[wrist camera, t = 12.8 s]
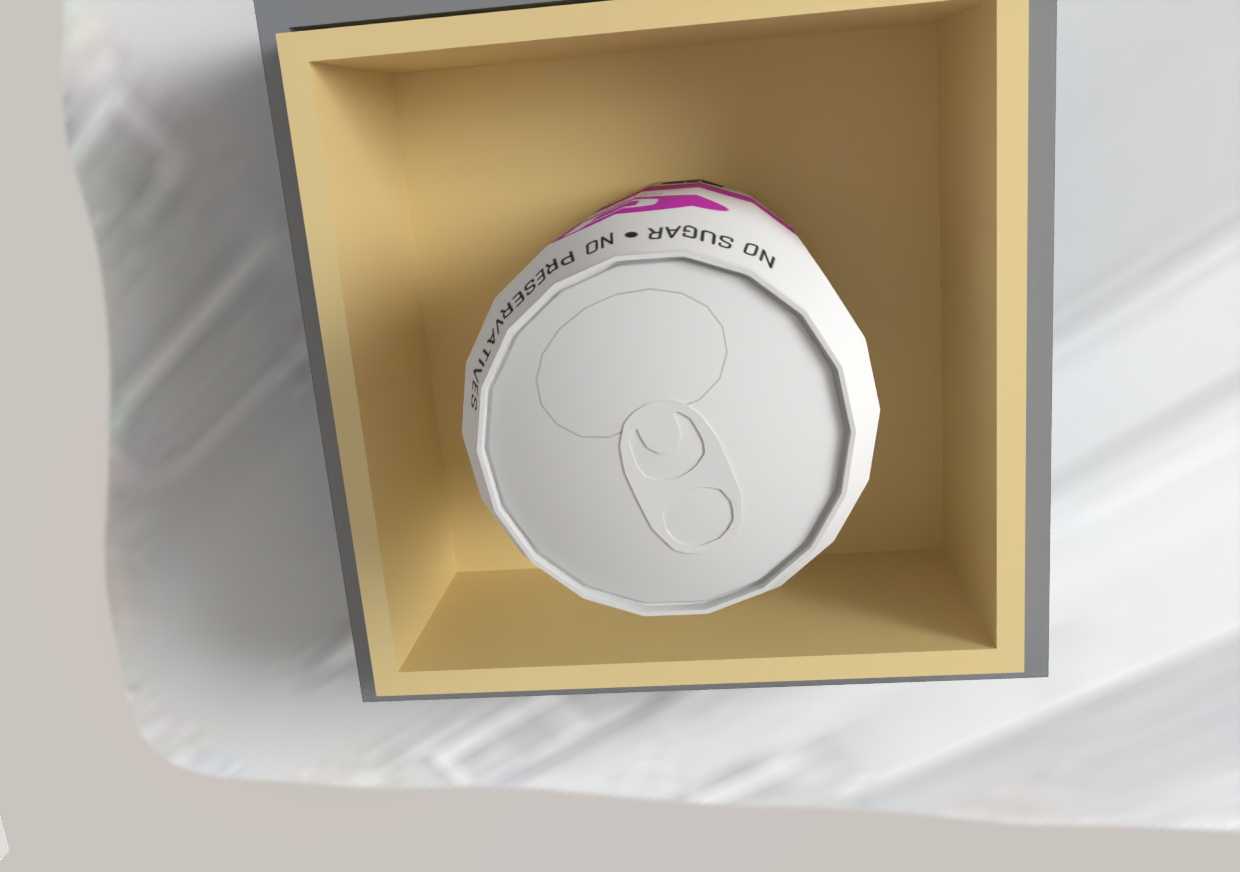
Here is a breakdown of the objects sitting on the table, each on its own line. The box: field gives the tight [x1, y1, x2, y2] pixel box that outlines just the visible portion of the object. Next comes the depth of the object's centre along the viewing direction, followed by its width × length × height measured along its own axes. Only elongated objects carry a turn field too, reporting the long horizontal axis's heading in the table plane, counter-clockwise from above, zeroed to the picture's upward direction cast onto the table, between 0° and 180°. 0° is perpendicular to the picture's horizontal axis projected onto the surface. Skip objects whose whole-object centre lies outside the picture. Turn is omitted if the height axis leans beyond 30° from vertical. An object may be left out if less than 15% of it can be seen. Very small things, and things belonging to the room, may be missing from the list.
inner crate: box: [276, 0, 1029, 696], centre depth 32 cm, size 17×17×8 cm
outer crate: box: [253, 0, 1057, 702], centre depth 34 cm, size 20×20×7 cm
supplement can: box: [462, 179, 880, 616], centre depth 28 cm, size 8×8×15 cm
